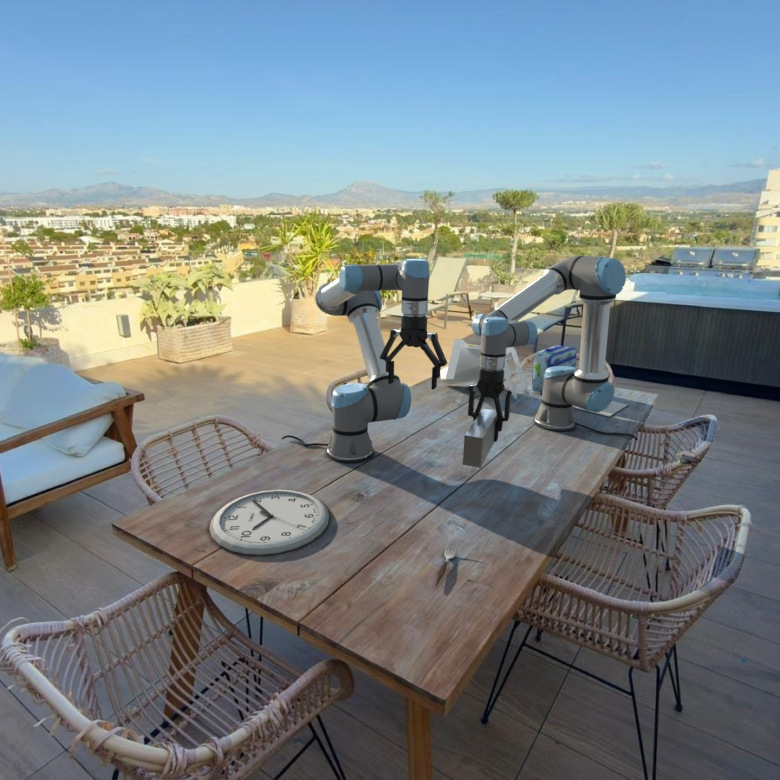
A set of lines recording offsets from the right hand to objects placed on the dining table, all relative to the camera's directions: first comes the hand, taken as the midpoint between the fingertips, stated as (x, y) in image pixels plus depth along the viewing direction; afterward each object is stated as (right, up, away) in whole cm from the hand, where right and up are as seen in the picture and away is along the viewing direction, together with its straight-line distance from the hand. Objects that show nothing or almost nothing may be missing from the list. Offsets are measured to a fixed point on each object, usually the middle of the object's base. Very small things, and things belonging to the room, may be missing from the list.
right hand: (486, 438), depth 166 cm
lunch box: (+46, +15, +82) cm, 95 cm away
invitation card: (+61, +8, +60) cm, 86 cm away
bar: (-3, -3, -7) cm, 8 cm away
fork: (-18, -24, -49) cm, 58 cm away
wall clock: (-62, -18, -32) cm, 72 cm away
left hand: (-24, +17, -10) cm, 31 cm away
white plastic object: (+11, +14, +77) cm, 79 cm away
